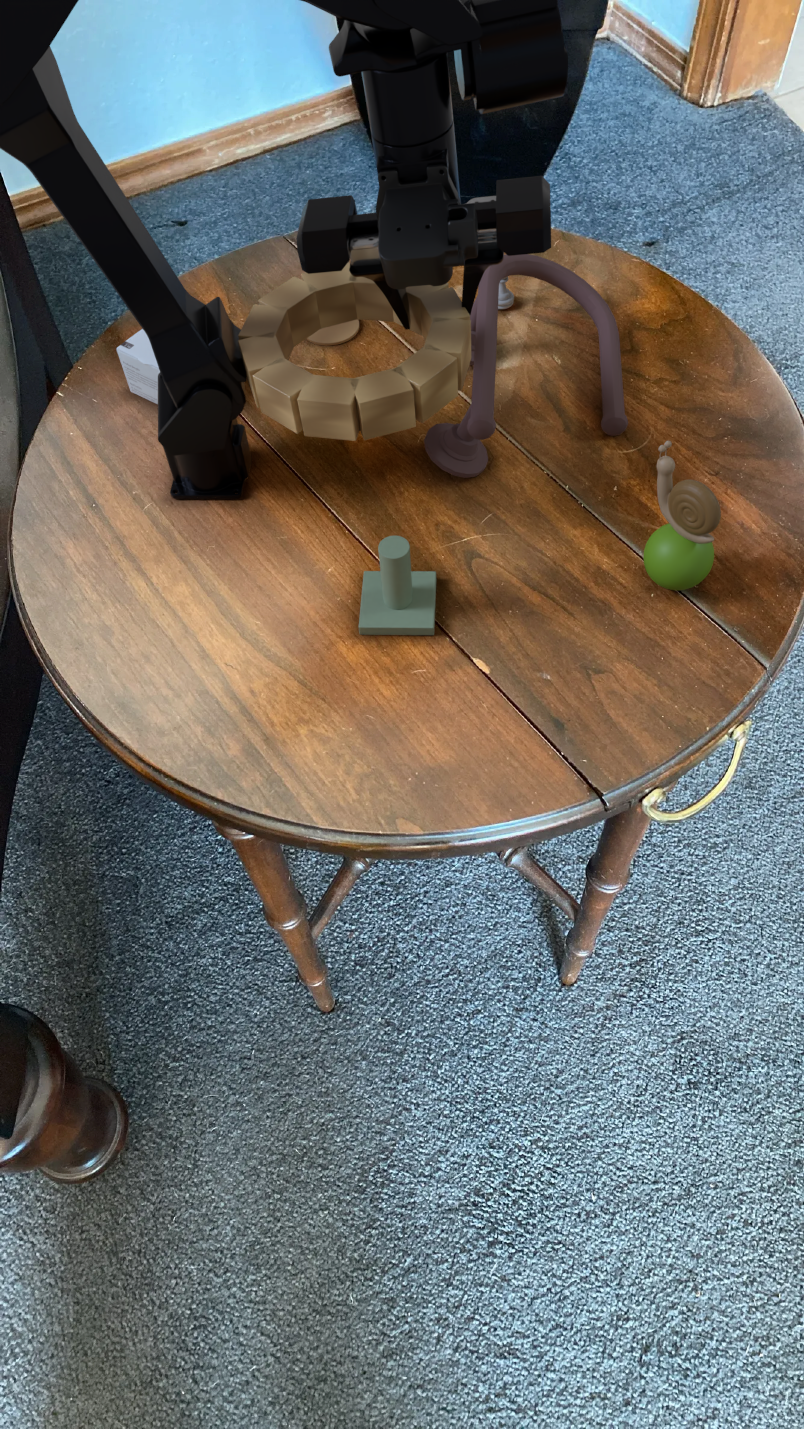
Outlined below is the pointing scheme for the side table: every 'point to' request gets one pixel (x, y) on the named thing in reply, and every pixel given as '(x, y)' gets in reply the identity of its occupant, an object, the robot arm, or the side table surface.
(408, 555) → the peg stand
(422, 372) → the birch ring
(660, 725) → the side table surface
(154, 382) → the small box
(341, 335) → the cork coaster
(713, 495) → the snail figurine
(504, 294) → the pawn
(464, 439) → the toilet paper hanger
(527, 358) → the side table surface
